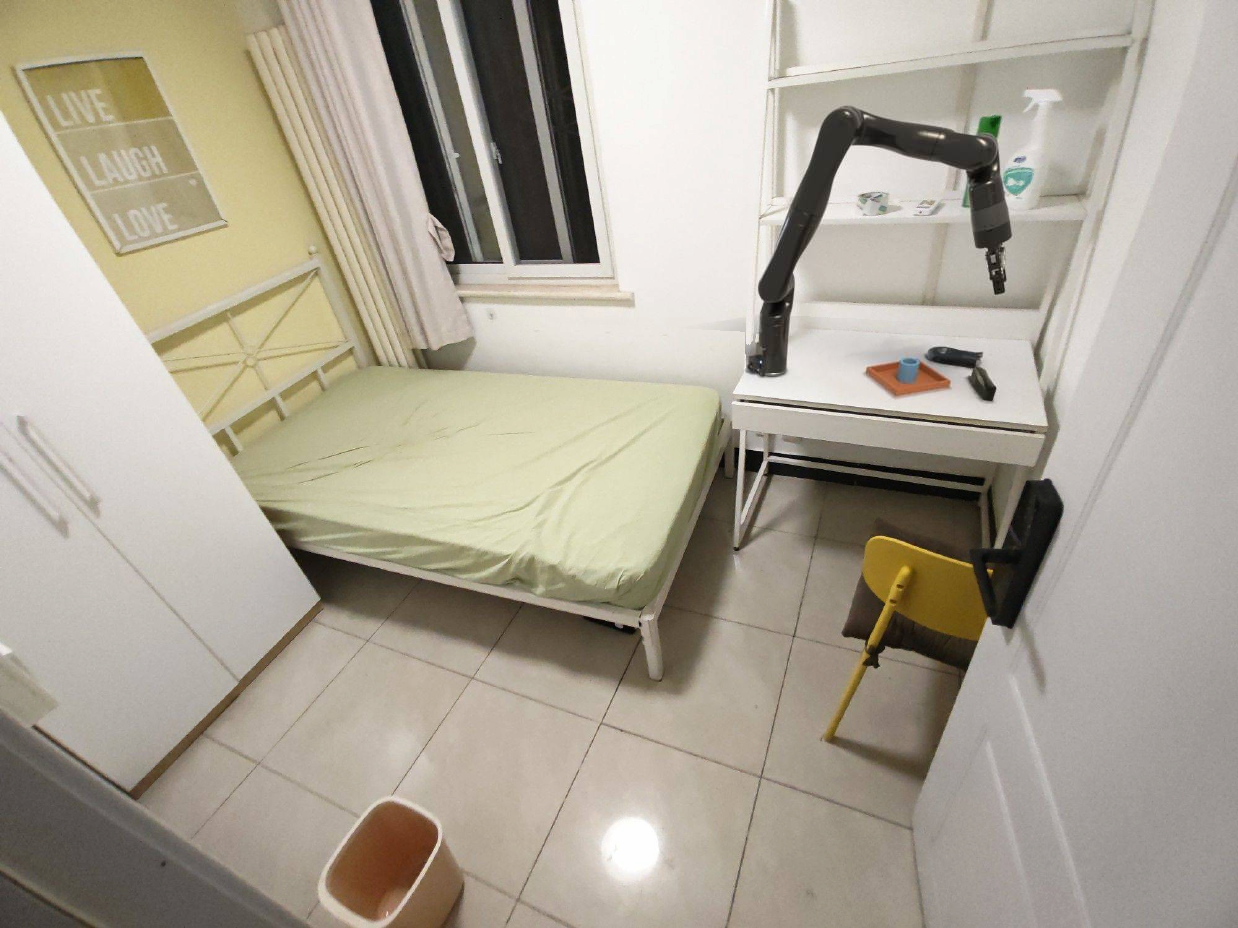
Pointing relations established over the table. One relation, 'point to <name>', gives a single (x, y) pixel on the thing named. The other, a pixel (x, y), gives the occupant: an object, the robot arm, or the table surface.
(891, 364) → the tray
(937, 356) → the electronic device
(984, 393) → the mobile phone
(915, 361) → the blue hollow tube
